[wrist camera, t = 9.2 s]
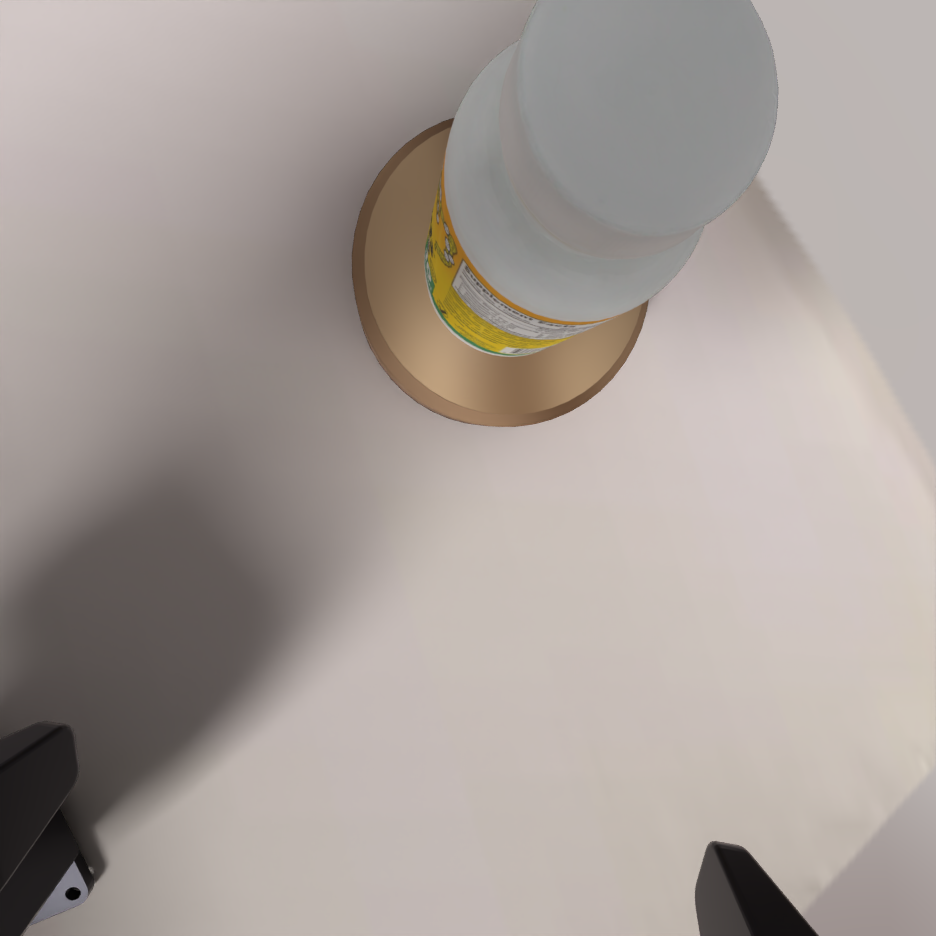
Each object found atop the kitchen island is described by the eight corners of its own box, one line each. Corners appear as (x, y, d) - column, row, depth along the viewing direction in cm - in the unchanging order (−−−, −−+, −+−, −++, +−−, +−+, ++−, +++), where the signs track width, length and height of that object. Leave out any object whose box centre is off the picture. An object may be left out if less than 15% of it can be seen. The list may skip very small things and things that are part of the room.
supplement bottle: (530, 390, 17) (698, 359, 8) (389, 297, 16) (388, 136, 7) (616, 249, 17) (888, 50, 8) (479, 147, 16) (602, -215, 7)
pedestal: (408, 460, 20) (412, 468, 17) (315, 191, 19) (303, 149, 16) (646, 379, 21) (688, 373, 18) (576, 121, 20) (610, 70, 17)
